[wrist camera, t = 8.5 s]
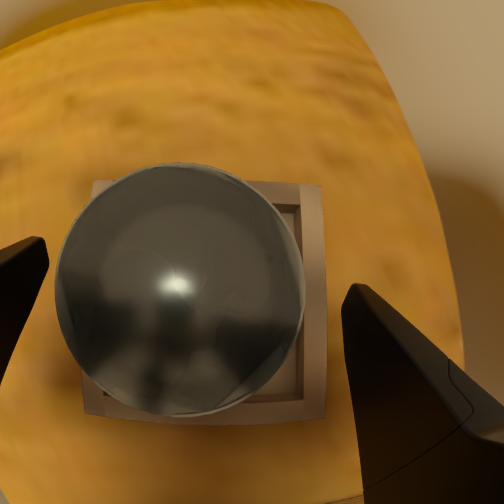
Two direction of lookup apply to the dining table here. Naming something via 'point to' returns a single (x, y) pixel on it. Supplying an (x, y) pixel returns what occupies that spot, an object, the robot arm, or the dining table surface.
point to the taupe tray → (302, 353)
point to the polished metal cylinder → (180, 289)
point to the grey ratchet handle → (351, 500)
